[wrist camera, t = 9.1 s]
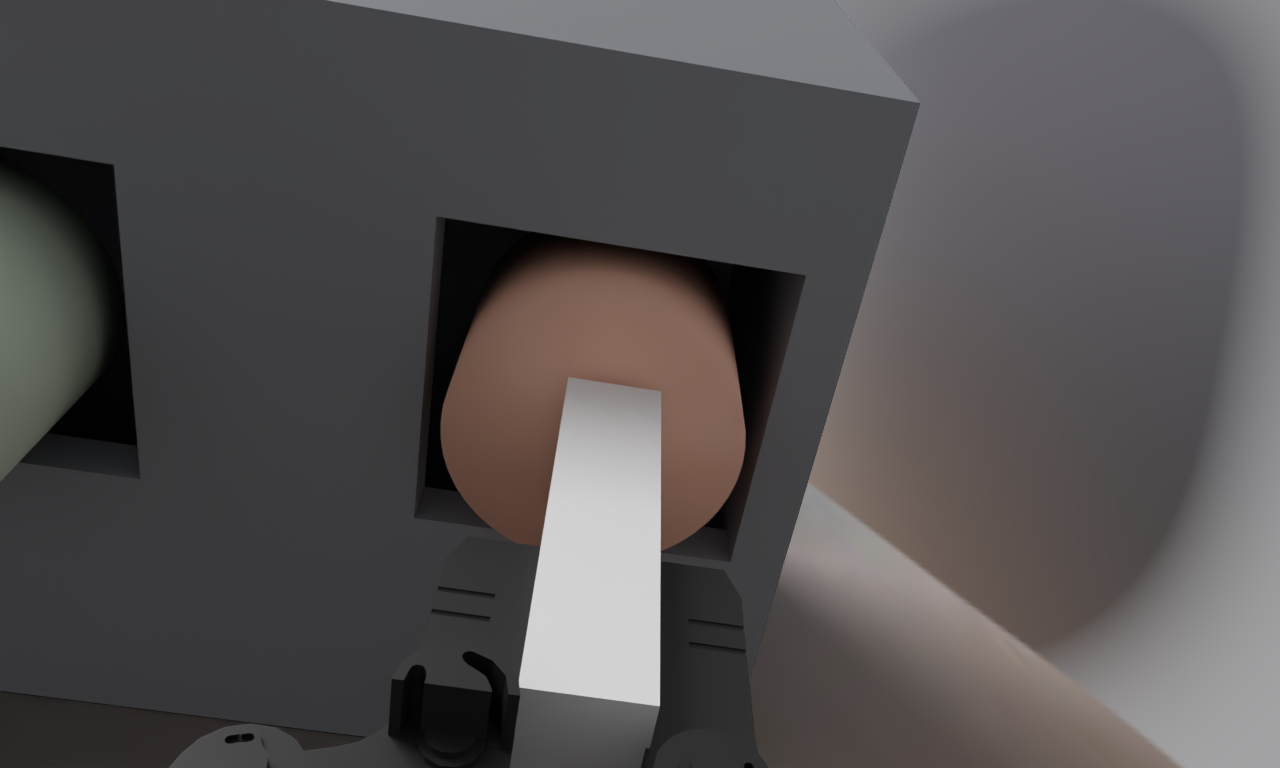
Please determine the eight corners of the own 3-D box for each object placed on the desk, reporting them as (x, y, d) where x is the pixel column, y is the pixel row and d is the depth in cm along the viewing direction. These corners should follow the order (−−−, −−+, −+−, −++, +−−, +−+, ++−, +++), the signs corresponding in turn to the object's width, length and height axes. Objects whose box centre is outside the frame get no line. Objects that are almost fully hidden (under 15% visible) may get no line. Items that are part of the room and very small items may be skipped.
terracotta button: (712, 581, 19) (777, 332, 16) (430, 541, 18) (452, 281, 16) (704, 456, 22) (755, 235, 20) (466, 420, 22) (489, 192, 19)
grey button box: (718, 781, 23) (920, 103, 16) (-760, 594, 21) (-1324, -285, 14) (703, 529, 31) (832, -2, 23) (-374, 375, 29) (-601, -259, 21)
